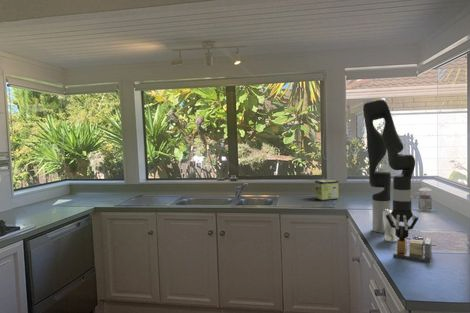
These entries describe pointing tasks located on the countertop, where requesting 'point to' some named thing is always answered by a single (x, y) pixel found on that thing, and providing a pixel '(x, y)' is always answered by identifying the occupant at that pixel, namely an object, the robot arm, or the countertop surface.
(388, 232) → the beer glass
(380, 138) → the robot arm
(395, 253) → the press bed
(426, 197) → the french press
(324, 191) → the protein box
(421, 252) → the block
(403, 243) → the press ram
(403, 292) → the countertop surface
